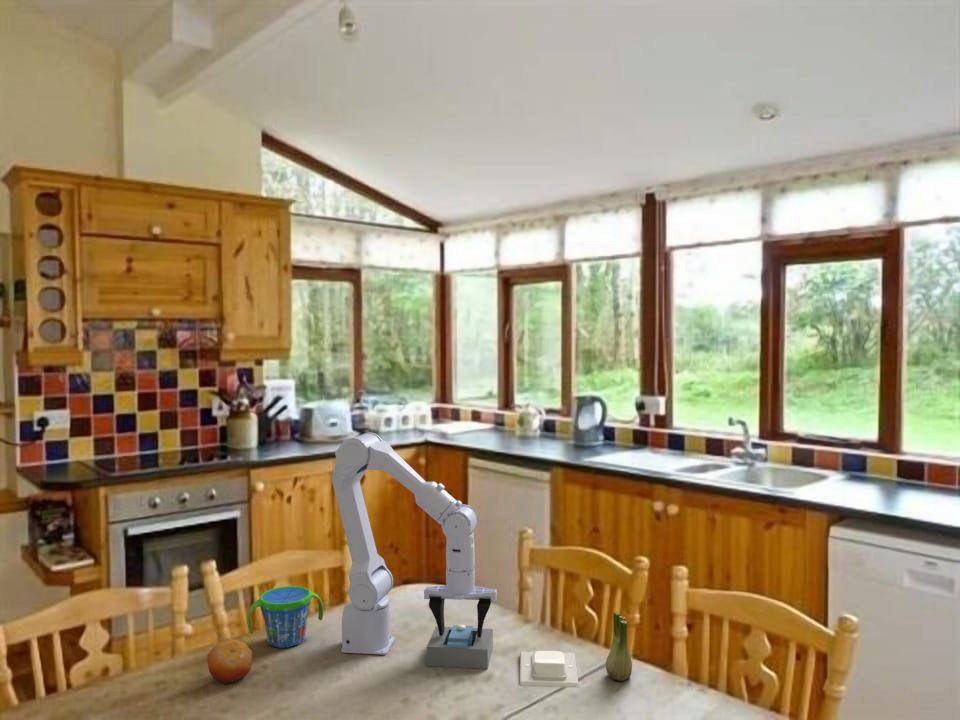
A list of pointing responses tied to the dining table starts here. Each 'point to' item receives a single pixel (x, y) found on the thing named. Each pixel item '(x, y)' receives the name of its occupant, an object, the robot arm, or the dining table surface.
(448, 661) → the block
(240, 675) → the fruit
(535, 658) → the light switch
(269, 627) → the snack cup
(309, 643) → the dining table surface
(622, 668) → the fennel bulb
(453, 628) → the servo
